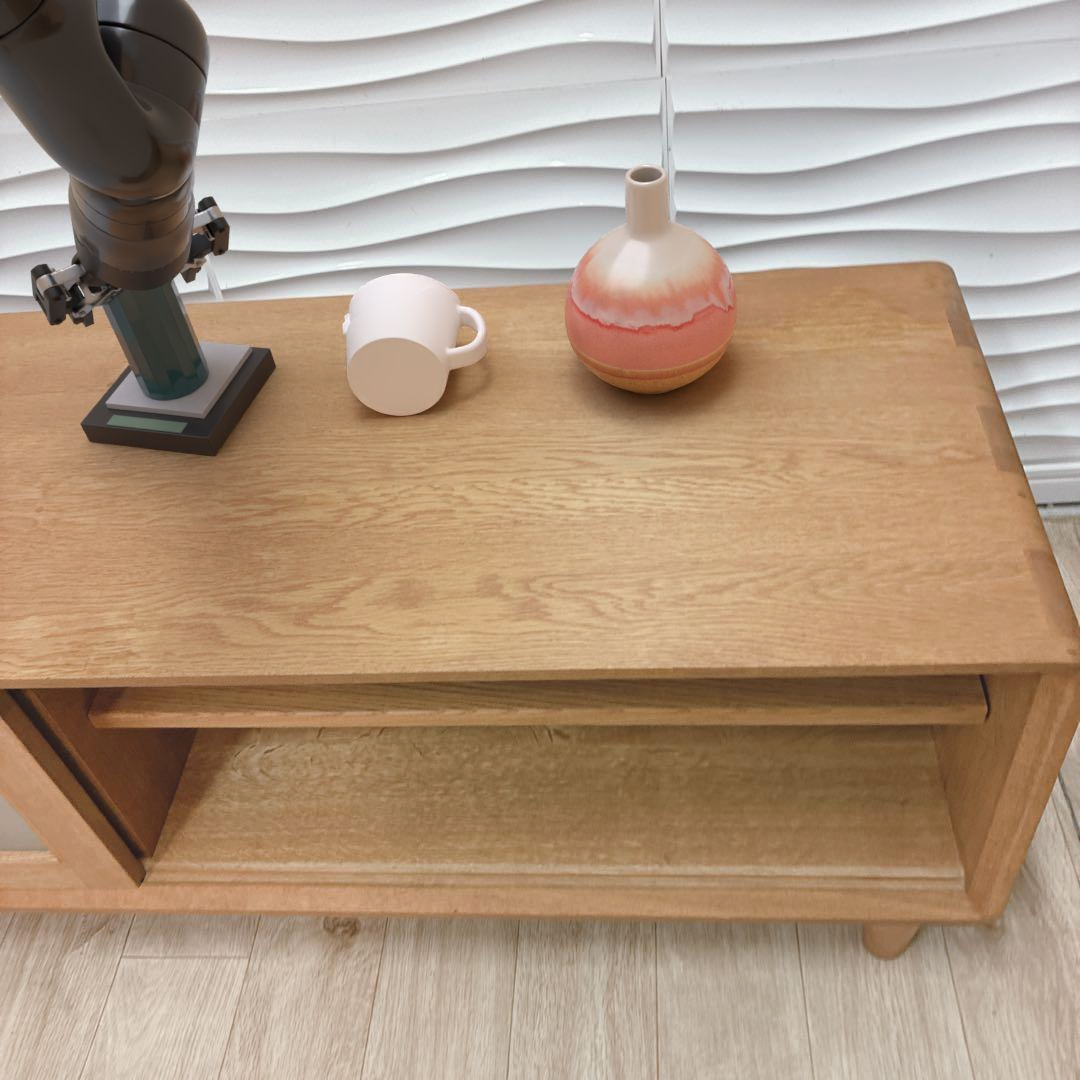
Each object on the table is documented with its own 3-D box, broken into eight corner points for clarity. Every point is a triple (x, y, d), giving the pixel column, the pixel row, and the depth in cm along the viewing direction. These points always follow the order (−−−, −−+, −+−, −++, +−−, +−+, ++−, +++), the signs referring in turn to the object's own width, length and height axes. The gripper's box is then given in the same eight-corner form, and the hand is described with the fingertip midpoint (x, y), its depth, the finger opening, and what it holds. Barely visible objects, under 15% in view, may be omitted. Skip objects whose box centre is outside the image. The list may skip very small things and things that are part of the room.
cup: (189, 403, 89) (140, 290, 81) (128, 397, 90) (74, 285, 82) (221, 360, 92) (177, 248, 84) (161, 355, 94) (113, 244, 86)
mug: (349, 421, 89) (326, 342, 83) (359, 353, 96) (339, 275, 90) (493, 408, 88) (479, 328, 83) (493, 340, 95) (481, 262, 89)
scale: (215, 456, 88) (204, 432, 86) (89, 441, 91) (76, 418, 89) (276, 366, 96) (268, 342, 94) (158, 355, 98) (148, 332, 97)
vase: (741, 419, 85) (751, 216, 72) (568, 427, 86) (547, 230, 73) (728, 317, 94) (734, 122, 81) (572, 326, 95) (554, 135, 83)
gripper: (203, 124, 72) (192, 216, 87) (-6, 202, 67) (21, 286, 82) (260, 224, 73) (239, 298, 88) (57, 309, 68) (72, 373, 83)
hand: (134, 292), depth 85 cm, fingers open, 8 cm apart
